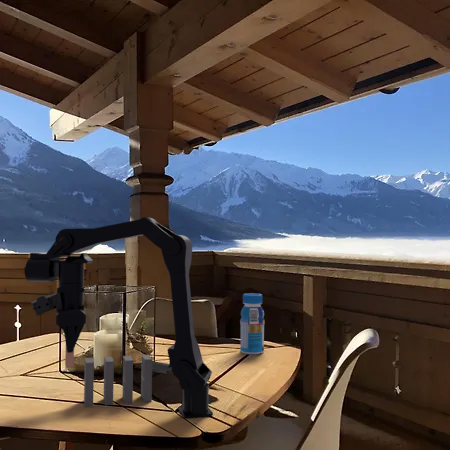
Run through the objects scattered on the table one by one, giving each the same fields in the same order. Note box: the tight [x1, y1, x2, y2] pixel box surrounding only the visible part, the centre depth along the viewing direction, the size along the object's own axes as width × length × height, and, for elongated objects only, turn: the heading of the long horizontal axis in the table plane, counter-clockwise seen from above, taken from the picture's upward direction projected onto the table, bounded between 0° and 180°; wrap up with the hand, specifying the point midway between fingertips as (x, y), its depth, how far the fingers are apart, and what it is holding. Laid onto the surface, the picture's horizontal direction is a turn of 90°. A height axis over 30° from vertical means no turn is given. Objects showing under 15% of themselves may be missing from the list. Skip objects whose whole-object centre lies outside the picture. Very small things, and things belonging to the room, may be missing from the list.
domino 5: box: [140, 354, 153, 403], centre depth 124 cm, size 2×5×10 cm, turn 18°
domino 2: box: [83, 357, 95, 408], centre depth 120 cm, size 2×5×10 cm, turn 18°
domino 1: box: [64, 345, 75, 369], centre depth 119 cm, size 2×5×10 cm, turn 17°
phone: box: [139, 360, 173, 375], centre depth 154 cm, size 8×1×15 cm
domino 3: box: [103, 356, 115, 406], centre depth 122 cm, size 2×5×10 cm, turn 17°
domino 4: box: [122, 355, 134, 405], centre depth 123 cm, size 2×5×10 cm, turn 18°
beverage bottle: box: [239, 292, 266, 355], centre depth 178 cm, size 8×8×20 cm
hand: (69, 349), depth 119 cm, fingers closed on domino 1, 5 cm apart
